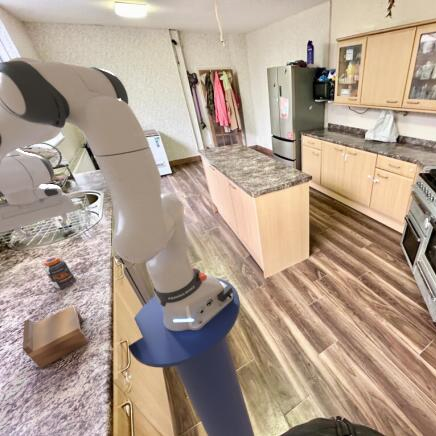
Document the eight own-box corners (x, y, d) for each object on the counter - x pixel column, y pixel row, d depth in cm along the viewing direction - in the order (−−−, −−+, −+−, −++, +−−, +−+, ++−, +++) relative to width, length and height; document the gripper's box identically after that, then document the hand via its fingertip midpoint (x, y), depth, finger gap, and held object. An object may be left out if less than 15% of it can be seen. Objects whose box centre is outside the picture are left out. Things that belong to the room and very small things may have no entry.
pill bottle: (59, 290, 86) (42, 266, 81) (53, 285, 89) (37, 261, 84) (78, 281, 91) (63, 257, 85) (72, 276, 94) (58, 253, 88)
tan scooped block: (83, 318, 74) (70, 300, 70) (88, 342, 66) (75, 323, 62) (40, 339, 68) (24, 321, 64) (40, 368, 60) (22, 349, 56)
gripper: (-25, 208, 67) (5, 248, 73) (66, 187, 81) (85, 222, 87) (-24, 203, 71) (4, 241, 77) (63, 184, 85) (80, 218, 91)
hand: (47, 231), depth 82 cm, fingers open, 8 cm apart
